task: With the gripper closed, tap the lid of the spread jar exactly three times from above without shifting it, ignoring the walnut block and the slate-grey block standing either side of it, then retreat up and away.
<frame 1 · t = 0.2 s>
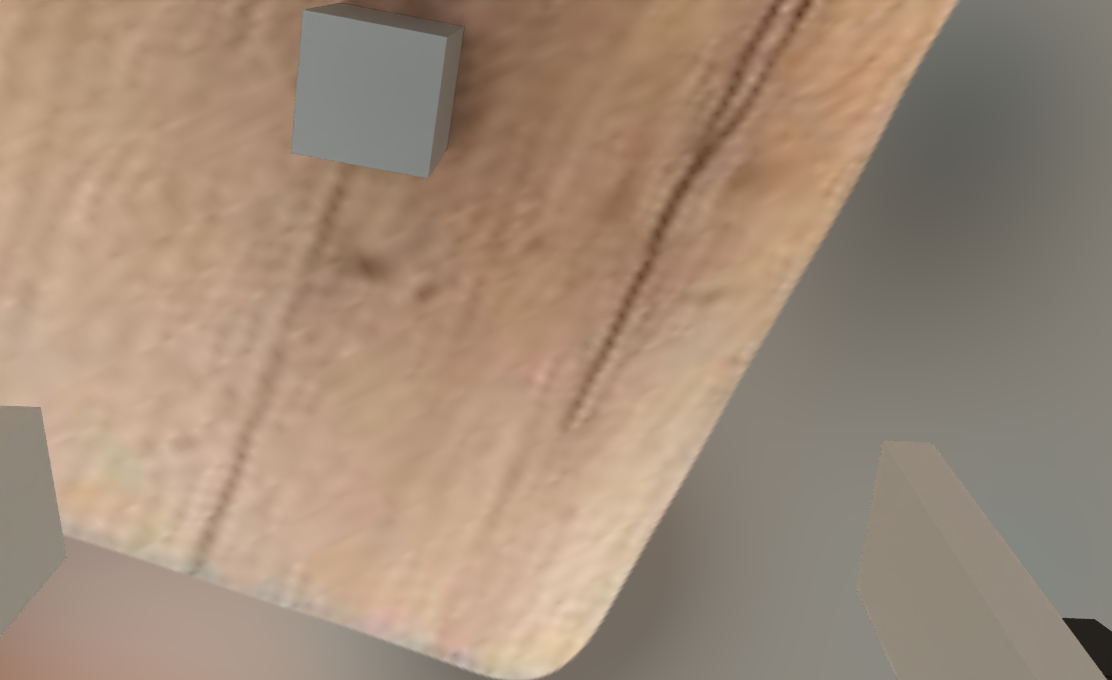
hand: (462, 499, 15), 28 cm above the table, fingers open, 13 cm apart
slate block: (395, 77, 40), on the table
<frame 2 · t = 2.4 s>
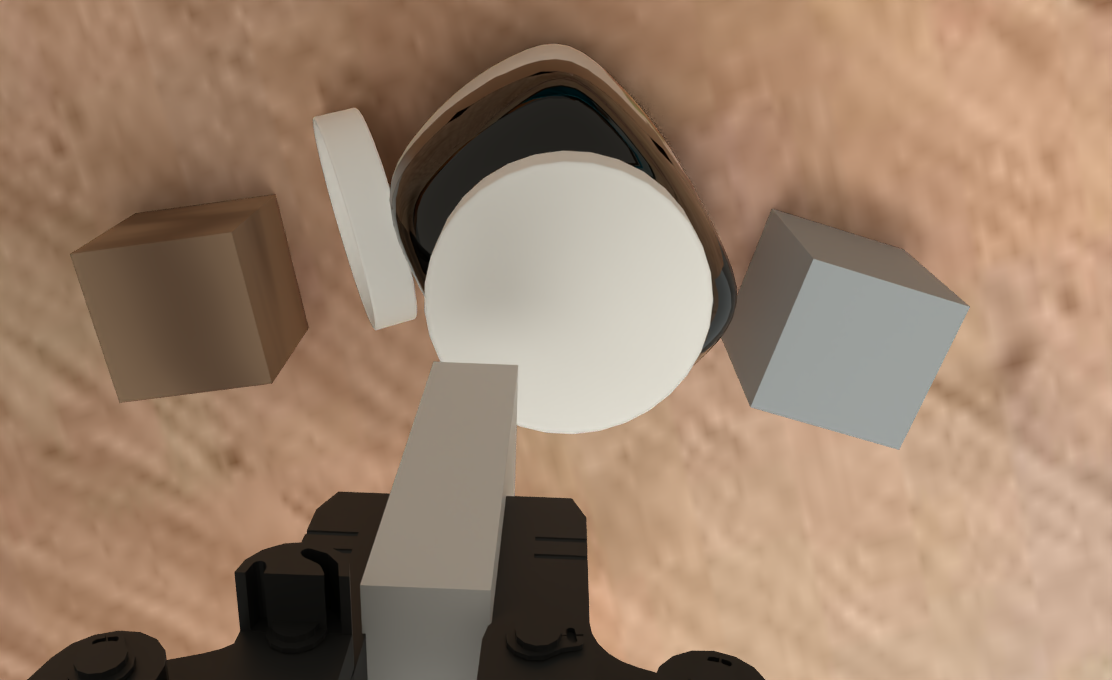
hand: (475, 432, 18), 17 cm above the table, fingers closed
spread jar: (506, 198, 34), on the table
slate block: (810, 293, 35), on the table
walnut block: (224, 271, 35), on the table
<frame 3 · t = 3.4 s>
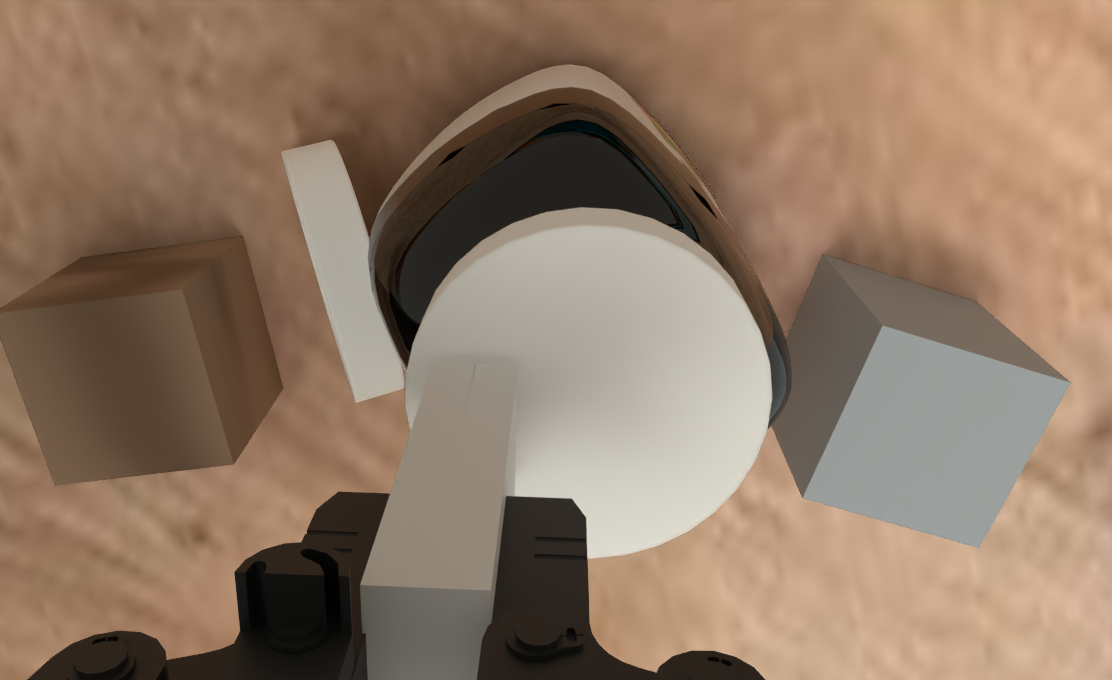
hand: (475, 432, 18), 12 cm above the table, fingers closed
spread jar: (512, 241, 29), on the table
slate block: (865, 351, 30), on the table
walnut block: (185, 323, 30), on the table
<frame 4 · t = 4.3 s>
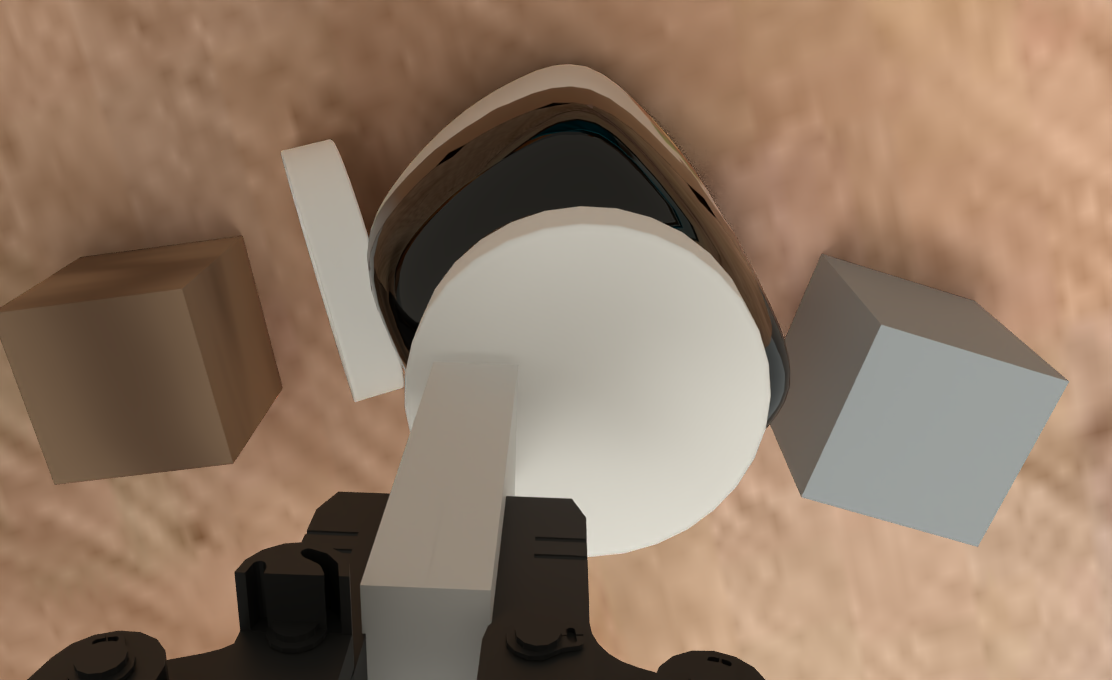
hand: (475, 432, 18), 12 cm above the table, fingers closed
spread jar: (511, 241, 29), on the table
slate block: (864, 350, 30), on the table
walnut block: (185, 323, 30), on the table
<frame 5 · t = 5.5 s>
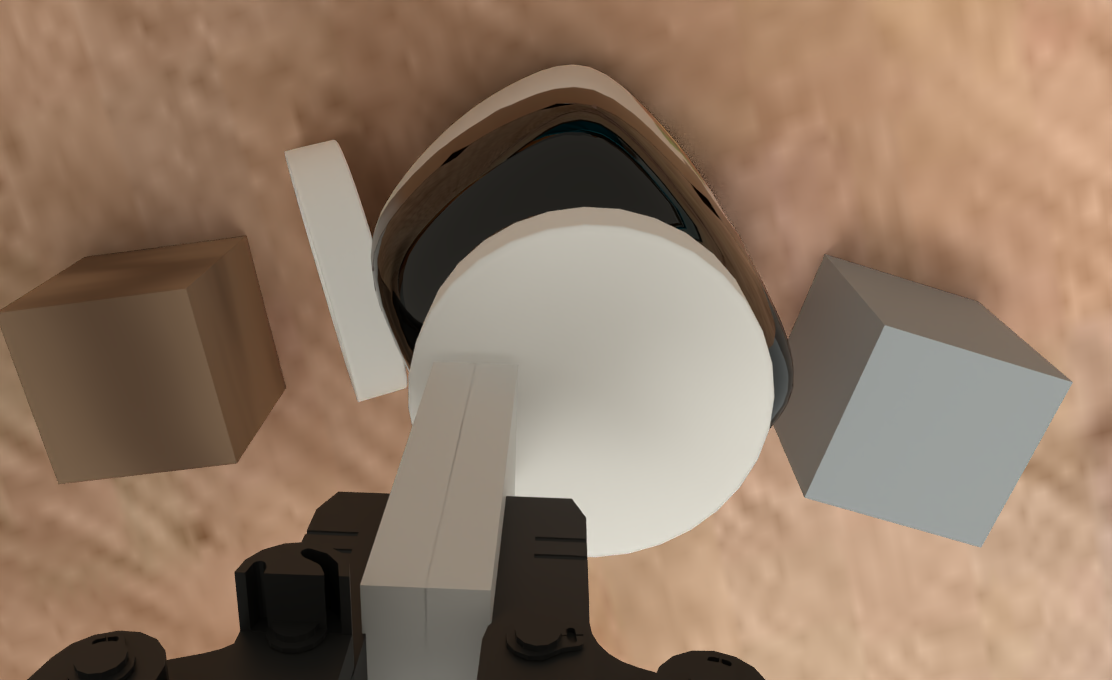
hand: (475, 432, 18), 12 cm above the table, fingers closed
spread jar: (514, 241, 29), on the table
slate block: (867, 351, 30), on the table
walnut block: (188, 323, 30), on the table
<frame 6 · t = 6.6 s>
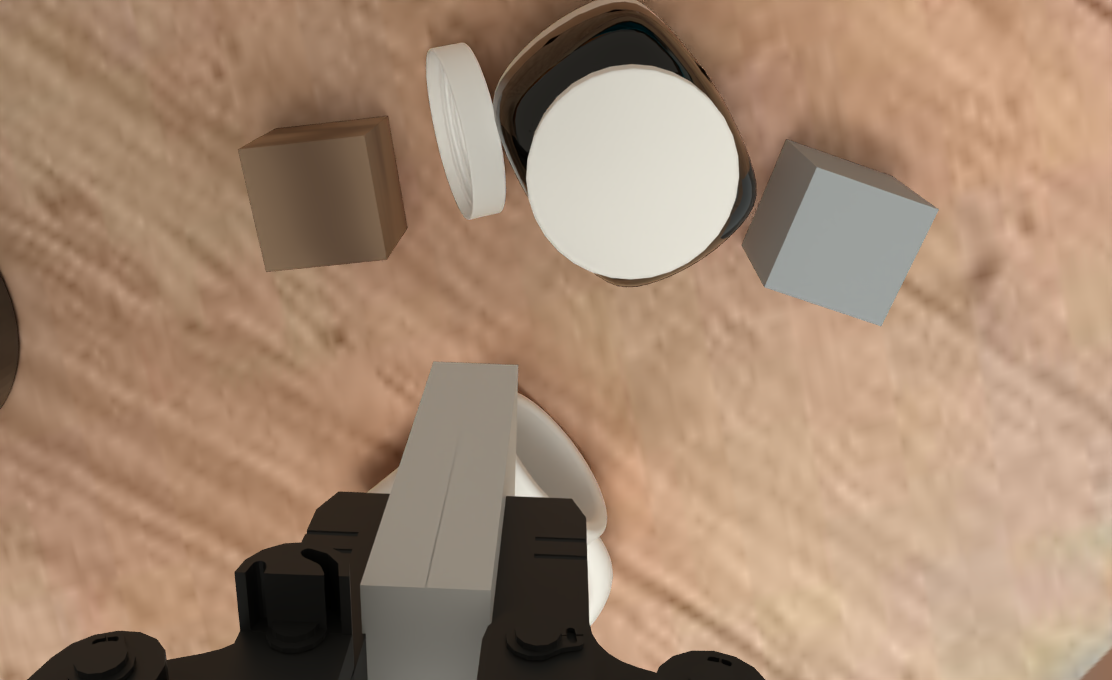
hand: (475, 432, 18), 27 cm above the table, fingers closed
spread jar: (572, 125, 42), on the table
slate block: (815, 211, 43), on the table
walnut block: (342, 178, 43), on the table
mug: (506, 502, 49), on the table
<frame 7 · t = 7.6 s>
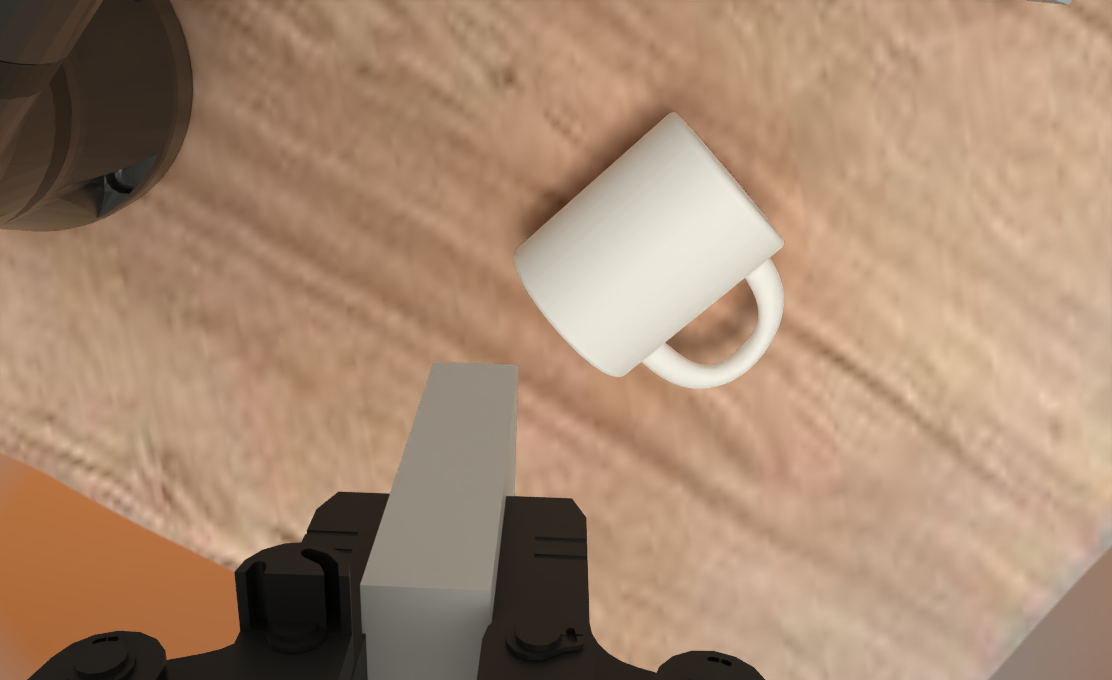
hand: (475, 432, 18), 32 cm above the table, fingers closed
mug: (666, 252, 50), on the table
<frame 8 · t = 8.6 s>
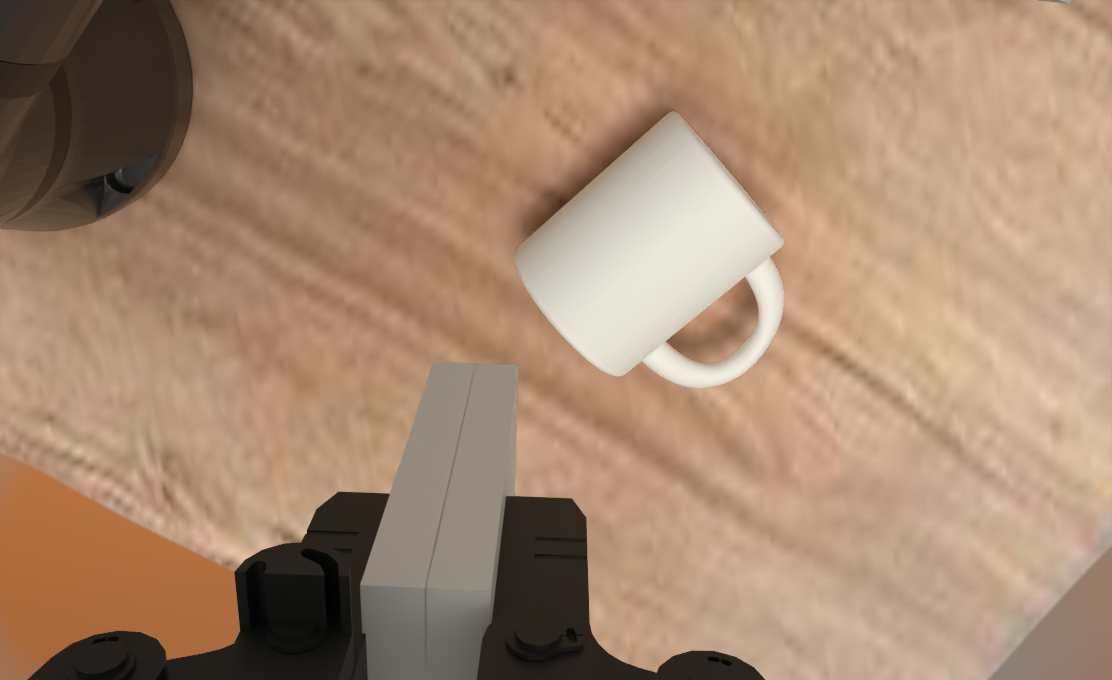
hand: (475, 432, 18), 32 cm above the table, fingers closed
mug: (666, 251, 50), on the table
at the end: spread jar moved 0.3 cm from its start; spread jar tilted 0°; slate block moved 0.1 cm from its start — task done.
